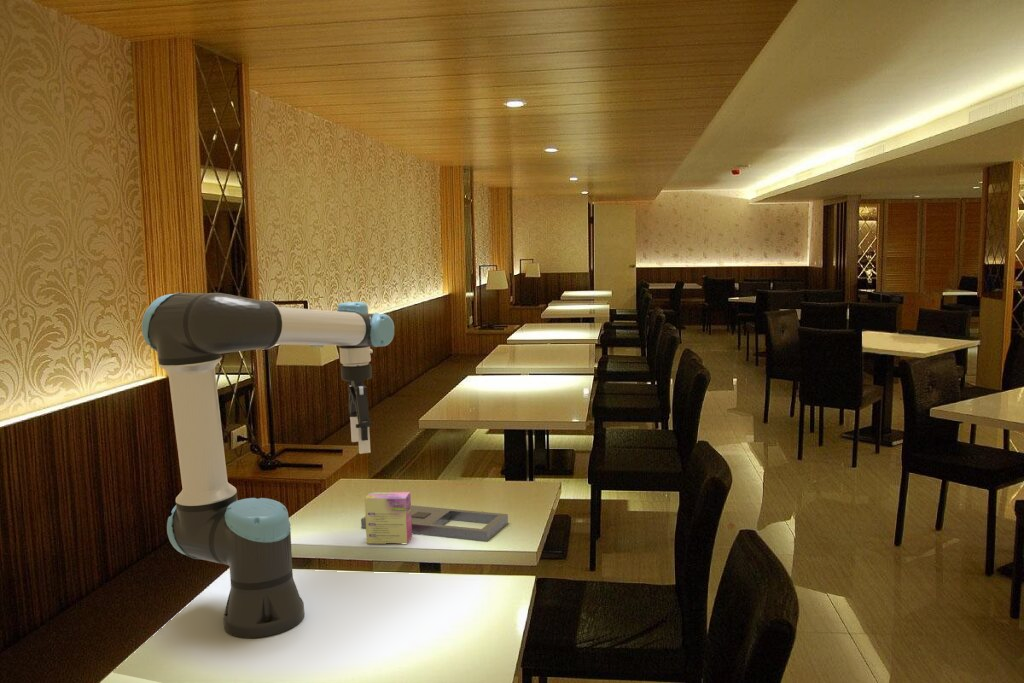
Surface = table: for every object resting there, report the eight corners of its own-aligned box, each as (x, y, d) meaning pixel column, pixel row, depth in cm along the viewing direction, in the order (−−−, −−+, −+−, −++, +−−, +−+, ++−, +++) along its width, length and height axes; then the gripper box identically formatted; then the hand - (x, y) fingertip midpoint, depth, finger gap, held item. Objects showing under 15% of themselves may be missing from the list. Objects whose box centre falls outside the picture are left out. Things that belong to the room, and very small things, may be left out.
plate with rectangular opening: (487, 541, 197) (486, 531, 197) (361, 528, 210) (361, 518, 210) (508, 523, 210) (507, 513, 210) (388, 511, 223) (388, 502, 223)
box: (412, 536, 203) (410, 491, 201) (407, 544, 197) (405, 498, 196) (372, 536, 204) (370, 491, 202) (366, 544, 198) (364, 498, 197)
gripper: (379, 368, 189) (384, 456, 191) (363, 357, 213) (368, 435, 215) (347, 371, 187) (352, 459, 189) (335, 359, 210) (339, 438, 213)
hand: (360, 447), depth 202 cm, fingers open, 13 cm apart
